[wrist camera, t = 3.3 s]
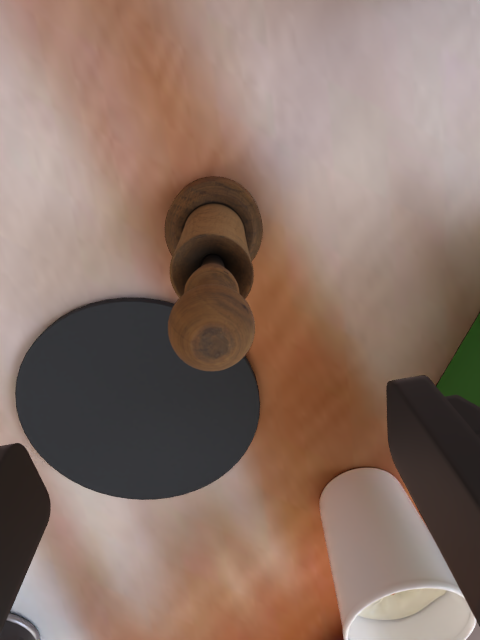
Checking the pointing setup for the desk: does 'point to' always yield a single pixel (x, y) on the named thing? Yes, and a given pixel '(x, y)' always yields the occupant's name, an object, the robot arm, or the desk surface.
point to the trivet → (132, 404)
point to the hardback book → (464, 368)
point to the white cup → (388, 563)
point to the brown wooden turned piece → (212, 272)
